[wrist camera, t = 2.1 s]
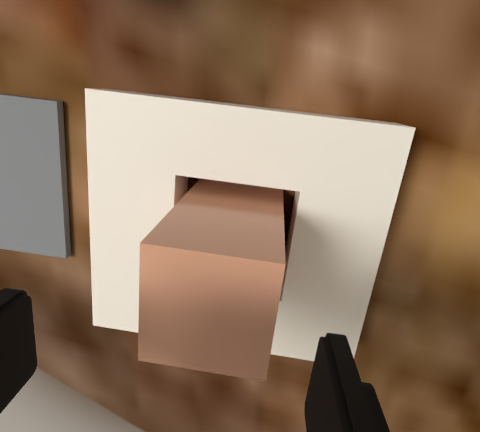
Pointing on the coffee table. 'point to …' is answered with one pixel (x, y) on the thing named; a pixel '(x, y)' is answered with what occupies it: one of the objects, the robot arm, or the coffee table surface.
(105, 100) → the cream pocket board
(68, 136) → the coffee table surface
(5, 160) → the slate mat
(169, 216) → the terracotta block
